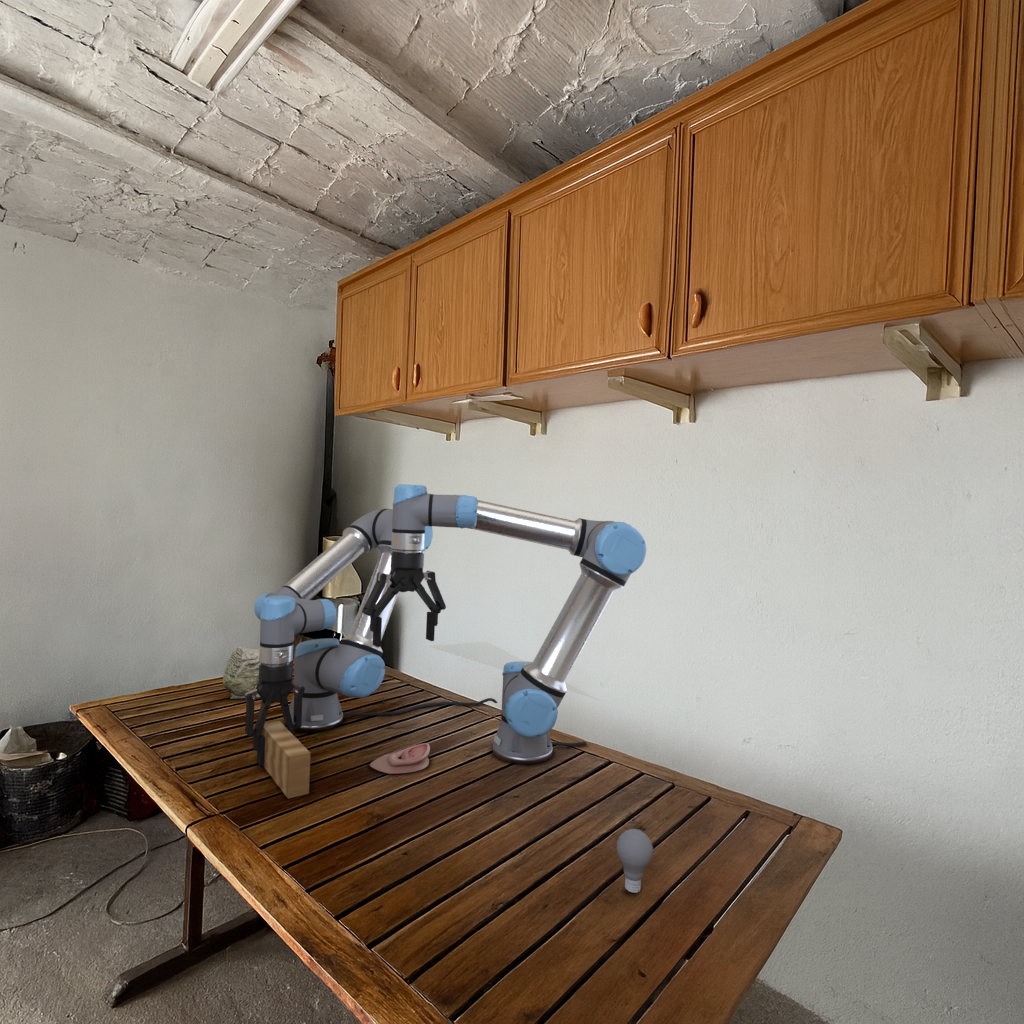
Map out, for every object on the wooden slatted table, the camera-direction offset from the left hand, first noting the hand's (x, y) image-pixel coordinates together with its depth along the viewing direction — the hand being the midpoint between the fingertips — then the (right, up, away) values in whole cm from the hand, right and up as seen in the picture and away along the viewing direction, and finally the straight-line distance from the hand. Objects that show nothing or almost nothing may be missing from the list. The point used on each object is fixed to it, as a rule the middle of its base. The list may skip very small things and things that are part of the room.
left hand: (272, 760), depth 149 cm
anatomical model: (+30, -2, +2) cm, 30 cm away
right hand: (+31, +28, -2) cm, 42 cm away
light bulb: (+77, -5, -43) cm, 88 cm away
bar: (+5, -1, -6) cm, 8 cm away
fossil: (-24, +1, +49) cm, 55 cm away
